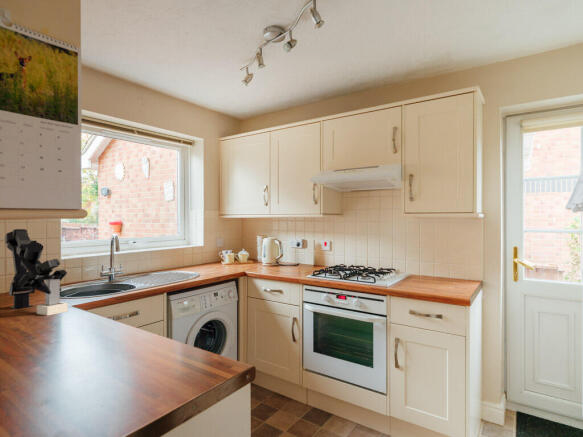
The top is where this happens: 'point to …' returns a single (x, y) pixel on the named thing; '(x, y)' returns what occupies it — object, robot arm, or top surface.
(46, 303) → the grey rectangular block
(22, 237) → the robot arm
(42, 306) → the cream square block
